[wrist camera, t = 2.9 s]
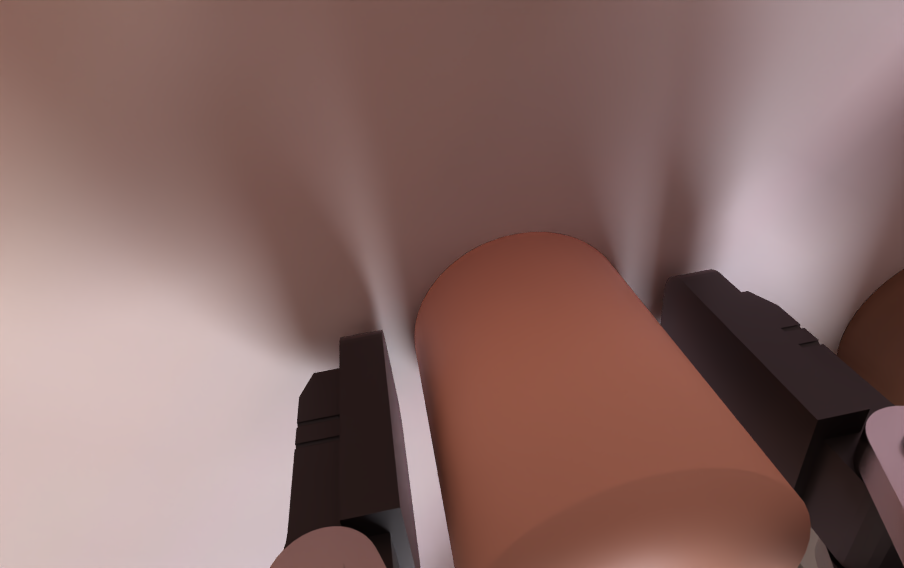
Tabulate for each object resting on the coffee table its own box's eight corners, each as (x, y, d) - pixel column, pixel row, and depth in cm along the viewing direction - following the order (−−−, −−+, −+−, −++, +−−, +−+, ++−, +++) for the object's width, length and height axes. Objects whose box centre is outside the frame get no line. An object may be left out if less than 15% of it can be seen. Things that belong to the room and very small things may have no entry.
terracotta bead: (398, 254, 9) (446, 519, 5) (630, 213, 10) (854, 431, 5) (429, 424, 11) (480, 709, 7) (618, 386, 12) (770, 637, 8)
